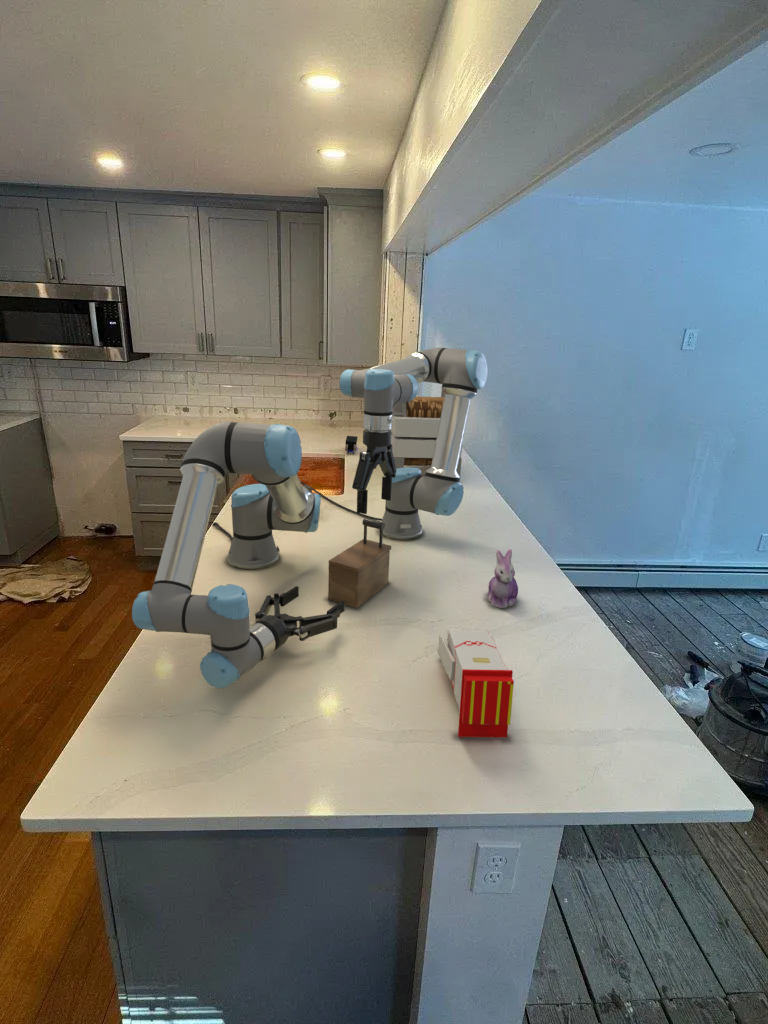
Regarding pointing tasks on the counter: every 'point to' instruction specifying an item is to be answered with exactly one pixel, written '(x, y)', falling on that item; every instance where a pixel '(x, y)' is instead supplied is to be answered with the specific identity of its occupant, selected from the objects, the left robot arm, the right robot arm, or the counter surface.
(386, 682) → the counter surface
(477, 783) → the counter surface
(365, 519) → the brown handled panel
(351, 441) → the figurine character
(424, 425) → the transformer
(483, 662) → the toy
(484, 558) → the counter surface
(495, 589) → the figurine
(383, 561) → the chest
